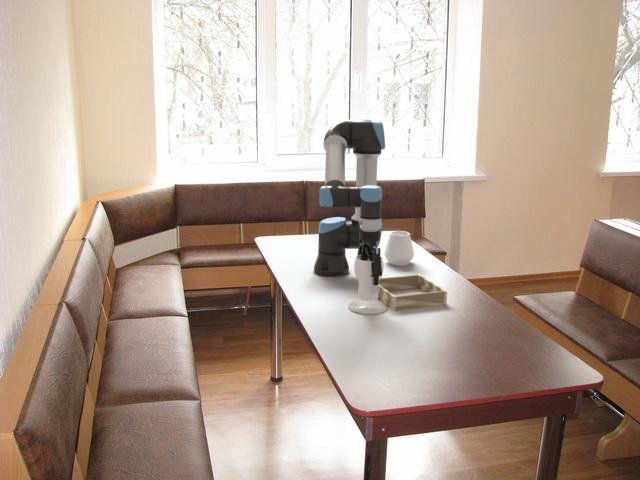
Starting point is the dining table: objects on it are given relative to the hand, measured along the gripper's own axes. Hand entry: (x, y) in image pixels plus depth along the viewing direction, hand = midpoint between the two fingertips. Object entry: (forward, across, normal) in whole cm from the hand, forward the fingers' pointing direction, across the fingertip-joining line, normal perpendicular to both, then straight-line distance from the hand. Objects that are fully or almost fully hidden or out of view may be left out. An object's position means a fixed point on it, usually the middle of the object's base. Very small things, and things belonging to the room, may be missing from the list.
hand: (368, 288), depth 242 cm
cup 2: (+7, -50, +37) cm, 63 cm away
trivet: (+7, 0, 0) cm, 7 cm away
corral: (+7, -6, +19) cm, 21 cm away
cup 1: (+4, 0, 0) cm, 4 cm away
